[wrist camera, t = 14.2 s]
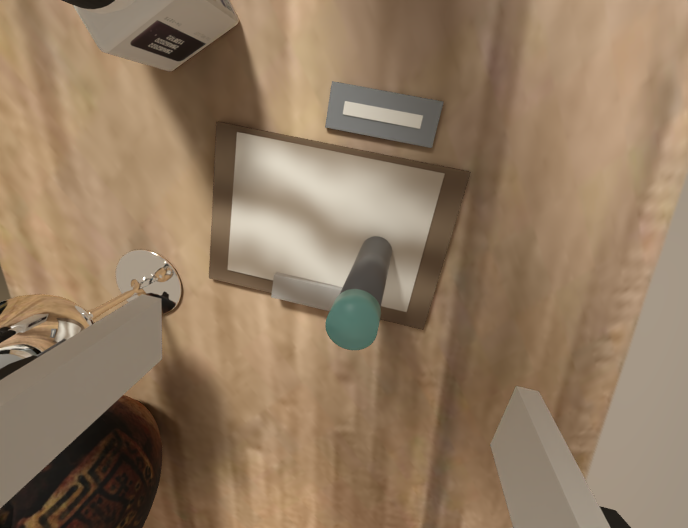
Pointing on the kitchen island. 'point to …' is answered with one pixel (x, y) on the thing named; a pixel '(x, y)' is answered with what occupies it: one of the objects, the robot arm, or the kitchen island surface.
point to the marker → (361, 297)
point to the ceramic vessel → (96, 476)
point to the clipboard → (328, 219)
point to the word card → (383, 114)
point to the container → (155, 27)
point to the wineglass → (69, 318)
